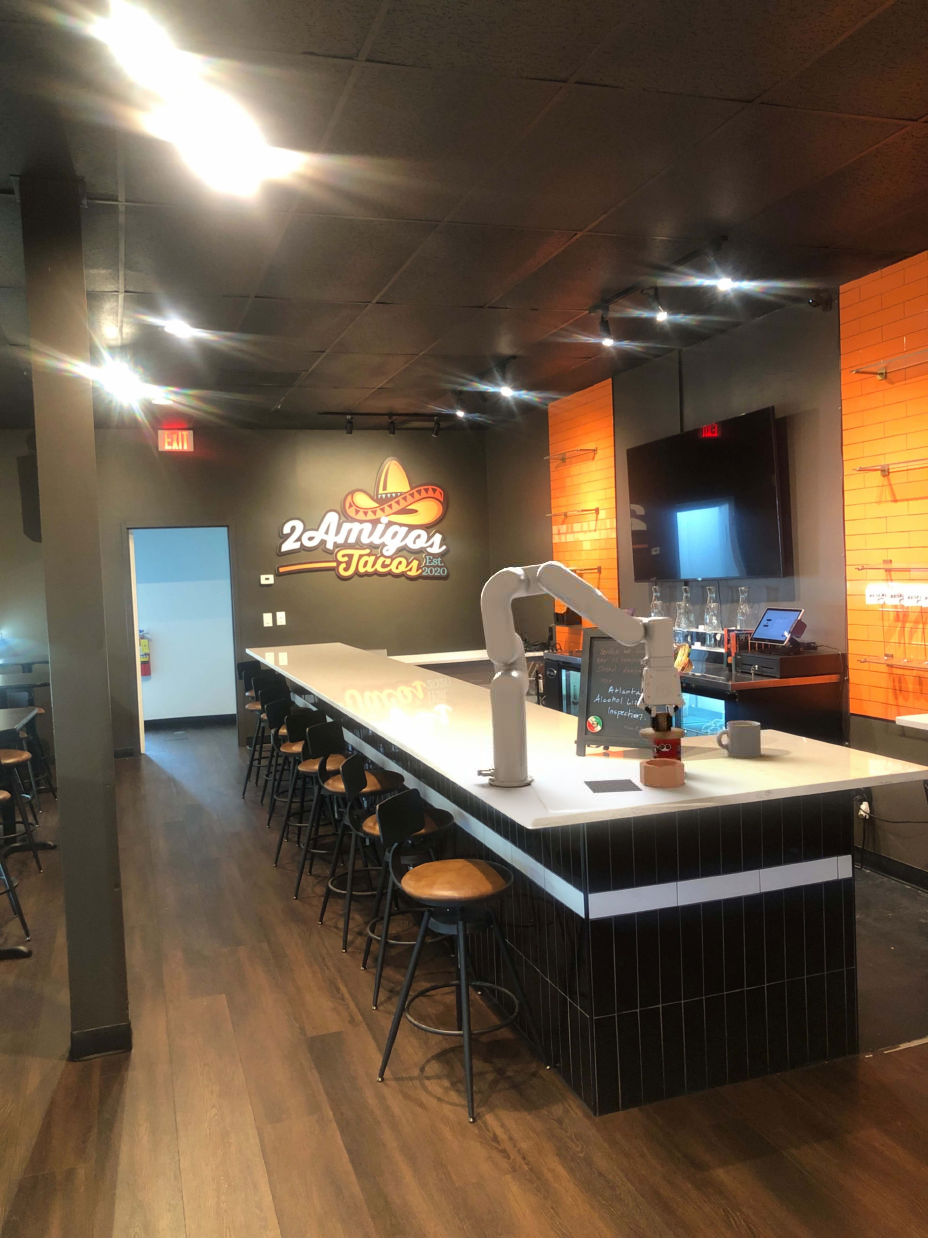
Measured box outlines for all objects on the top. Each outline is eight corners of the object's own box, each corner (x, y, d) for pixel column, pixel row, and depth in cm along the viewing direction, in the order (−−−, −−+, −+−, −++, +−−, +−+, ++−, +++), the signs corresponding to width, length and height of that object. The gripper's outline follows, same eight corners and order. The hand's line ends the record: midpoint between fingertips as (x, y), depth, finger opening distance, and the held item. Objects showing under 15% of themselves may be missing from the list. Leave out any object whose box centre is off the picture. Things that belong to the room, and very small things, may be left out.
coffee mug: (757, 752, 284) (756, 720, 284) (763, 758, 274) (763, 725, 274) (713, 752, 286) (713, 721, 285) (718, 758, 276) (718, 726, 275)
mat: (593, 795, 236) (593, 792, 236) (583, 783, 249) (583, 781, 249) (642, 792, 237) (642, 790, 237) (629, 781, 250) (629, 779, 250)
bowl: (647, 790, 239) (647, 768, 239) (636, 781, 250) (636, 759, 250) (688, 788, 240) (688, 766, 239) (675, 779, 251) (675, 757, 250)
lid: (646, 740, 238) (645, 717, 237) (634, 732, 250) (633, 710, 249) (690, 738, 238) (690, 714, 238) (676, 730, 250) (676, 708, 250)
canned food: (648, 770, 262) (647, 733, 262) (671, 768, 265) (670, 730, 265) (662, 776, 255) (662, 737, 255) (686, 773, 258) (686, 735, 257)
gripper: (633, 665, 239) (635, 734, 240) (694, 662, 240) (695, 731, 241) (626, 662, 246) (628, 729, 247) (685, 660, 247) (686, 726, 248)
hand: (661, 729), depth 244 cm, fingers closed on lid, 3 cm apart
